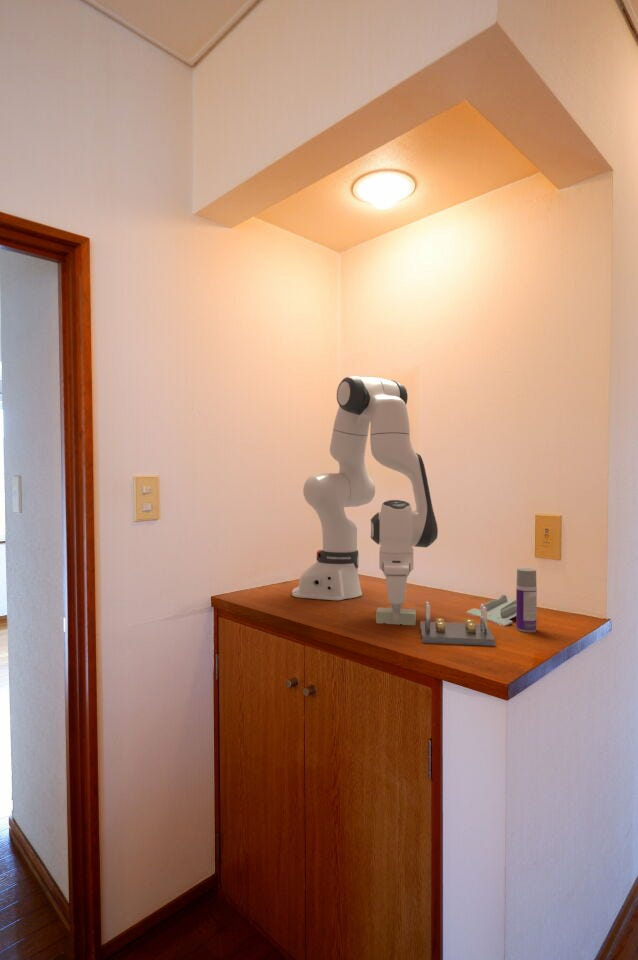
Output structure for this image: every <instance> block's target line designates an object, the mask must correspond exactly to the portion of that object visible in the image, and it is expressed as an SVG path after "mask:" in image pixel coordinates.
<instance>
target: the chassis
mask: <svg viewBox="0 0 638 960" xmlns="http://www.w3.org/2000/svg"><path fill="white" fill-rule="evenodd" d="M424 604H425V605H424V615H425V616H424V617H425V618H424V620H423V621H421V620H420V622H419V630H420V635H421V641H422V644H434V643H435V644H438V645H458V646H459V645H461V646H482V647H484V646H485V647H495V646H496V638H495V637H494V634H492V631H490V629H489V627H488V620H487V607H485V603H480V609H479V610H480V617H479V618H480V619H479V620H480V623H478V622H477V623H476V622H475V620H474V619H471V618H468V619H465V621H464V622H453V621H452V622H447V621H445V618H442V617H437V618H435V621H431V604H430V601H425V602H424Z"/></svg>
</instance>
